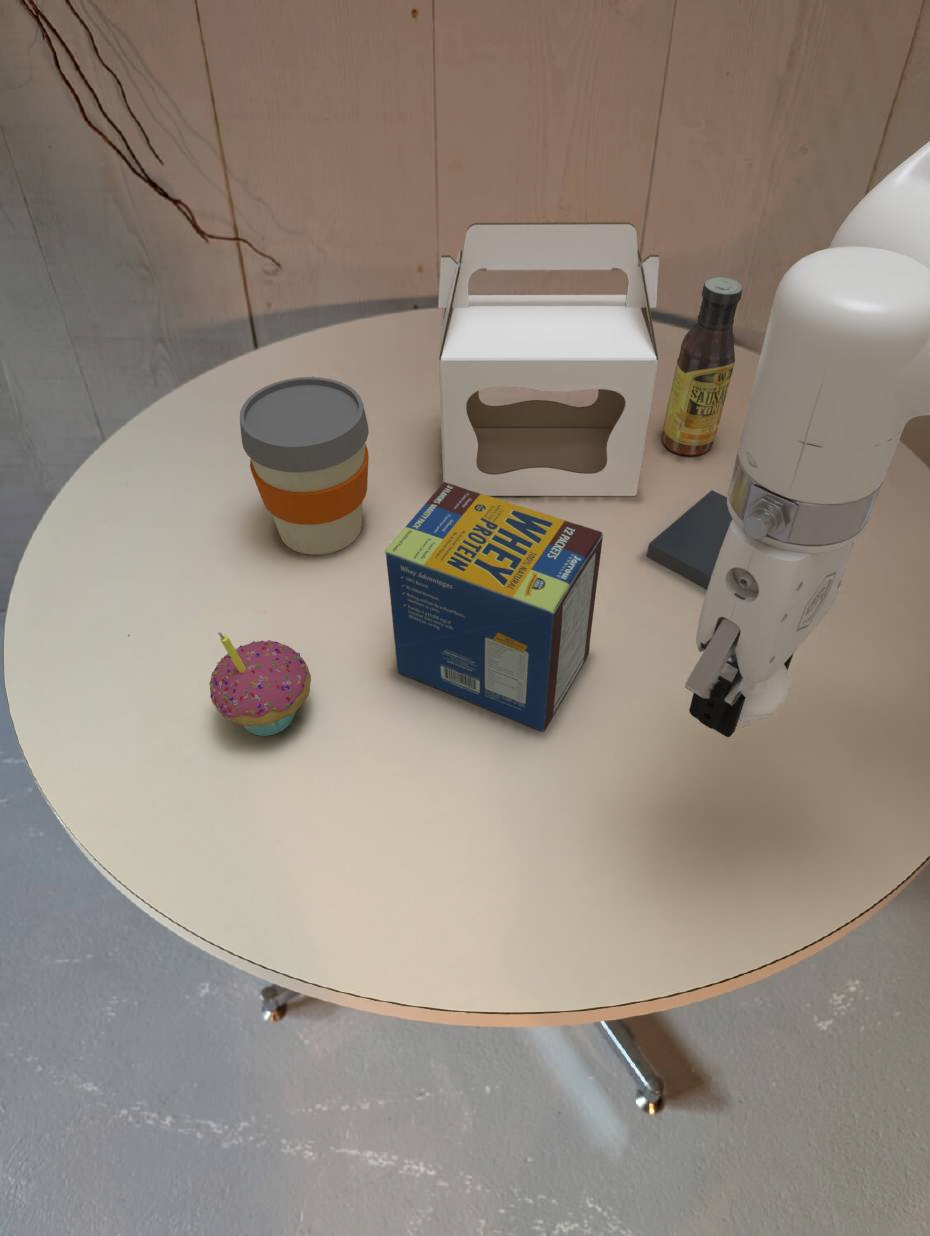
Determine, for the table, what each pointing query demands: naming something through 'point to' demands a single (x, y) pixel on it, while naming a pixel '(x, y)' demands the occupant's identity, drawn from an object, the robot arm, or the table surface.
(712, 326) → the sauce bottle
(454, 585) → the protein box
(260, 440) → the reusable coffee cup
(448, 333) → the gable box
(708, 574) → the scale
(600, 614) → the table surface
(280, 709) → the cupcake
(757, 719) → the muffin
